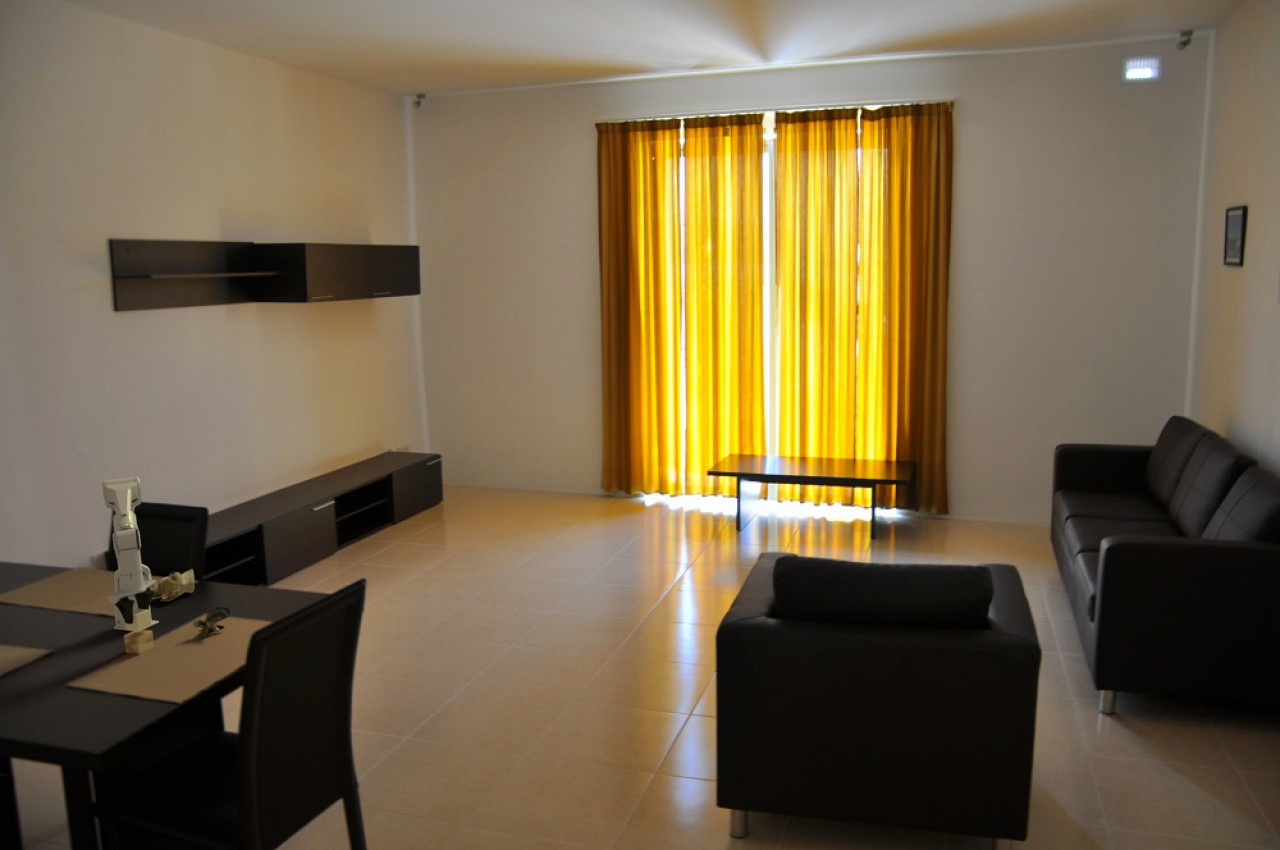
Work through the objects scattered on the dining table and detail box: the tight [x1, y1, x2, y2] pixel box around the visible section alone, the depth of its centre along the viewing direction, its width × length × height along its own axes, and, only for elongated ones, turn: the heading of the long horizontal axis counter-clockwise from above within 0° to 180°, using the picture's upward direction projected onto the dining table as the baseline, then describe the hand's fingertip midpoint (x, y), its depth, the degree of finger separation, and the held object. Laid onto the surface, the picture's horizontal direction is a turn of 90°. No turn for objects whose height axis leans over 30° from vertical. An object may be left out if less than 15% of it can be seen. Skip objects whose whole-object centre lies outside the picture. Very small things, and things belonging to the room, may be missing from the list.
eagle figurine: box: [192, 606, 232, 638], centre depth 299 cm, size 8×8×10 cm
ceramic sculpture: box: [152, 568, 195, 602], centre depth 330 cm, size 11×9×15 cm
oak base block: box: [123, 629, 155, 655], centre depth 287 cm, size 5×5×5 cm
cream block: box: [125, 608, 152, 632], centre depth 286 cm, size 4×4×4 cm
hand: (136, 620), depth 286 cm, fingers closed on cream block, 4 cm apart
